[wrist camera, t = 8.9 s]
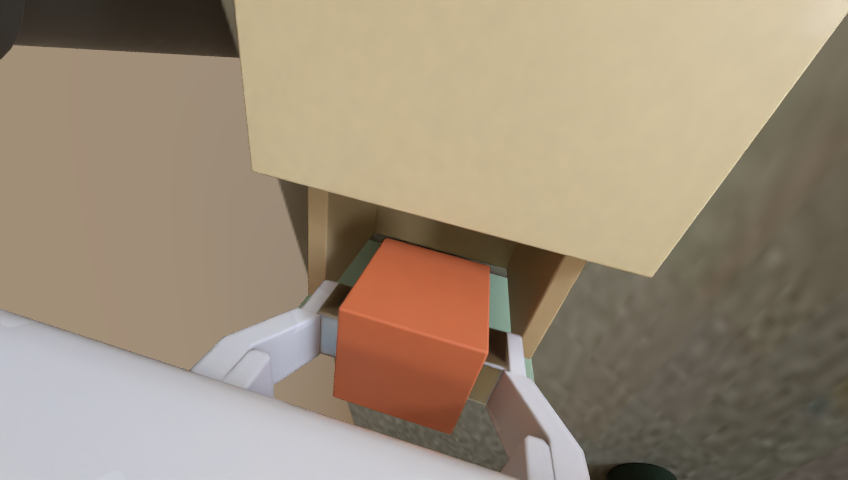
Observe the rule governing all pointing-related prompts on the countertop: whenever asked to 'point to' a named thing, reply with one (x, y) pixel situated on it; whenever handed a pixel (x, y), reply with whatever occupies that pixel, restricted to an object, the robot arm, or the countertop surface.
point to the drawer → (509, 297)
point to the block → (413, 334)
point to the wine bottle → (640, 473)
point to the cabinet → (524, 108)
